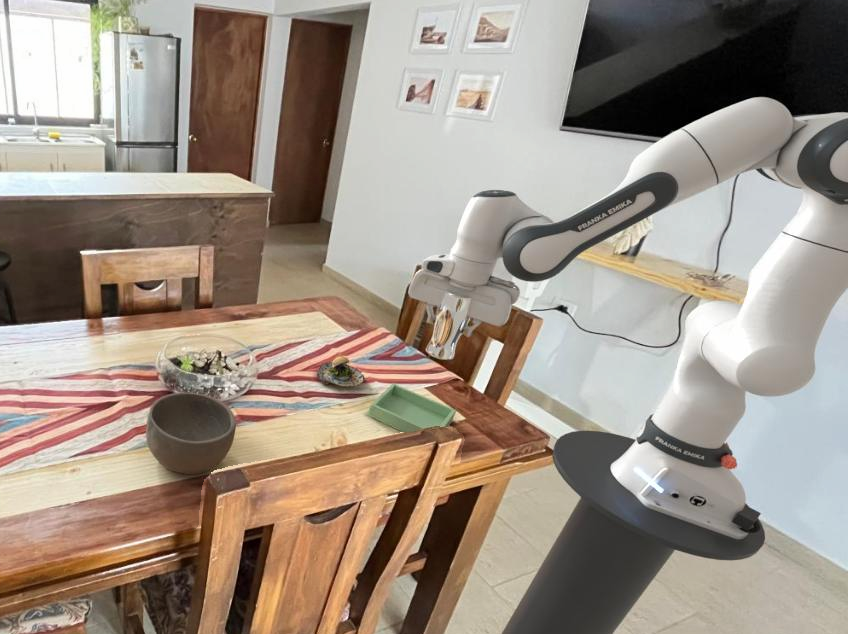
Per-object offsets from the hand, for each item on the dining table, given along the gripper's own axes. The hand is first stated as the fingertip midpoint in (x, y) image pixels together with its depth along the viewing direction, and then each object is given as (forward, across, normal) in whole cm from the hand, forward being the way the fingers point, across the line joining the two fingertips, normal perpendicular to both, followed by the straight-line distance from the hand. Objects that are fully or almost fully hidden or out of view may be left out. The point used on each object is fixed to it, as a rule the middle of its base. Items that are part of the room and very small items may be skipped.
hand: (447, 328), depth 113 cm
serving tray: (+23, +1, +3) cm, 23 cm away
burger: (+23, +21, 0) cm, 31 cm away
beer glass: (+6, 0, 0) cm, 6 cm away
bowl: (+23, +29, +51) cm, 63 cm away
